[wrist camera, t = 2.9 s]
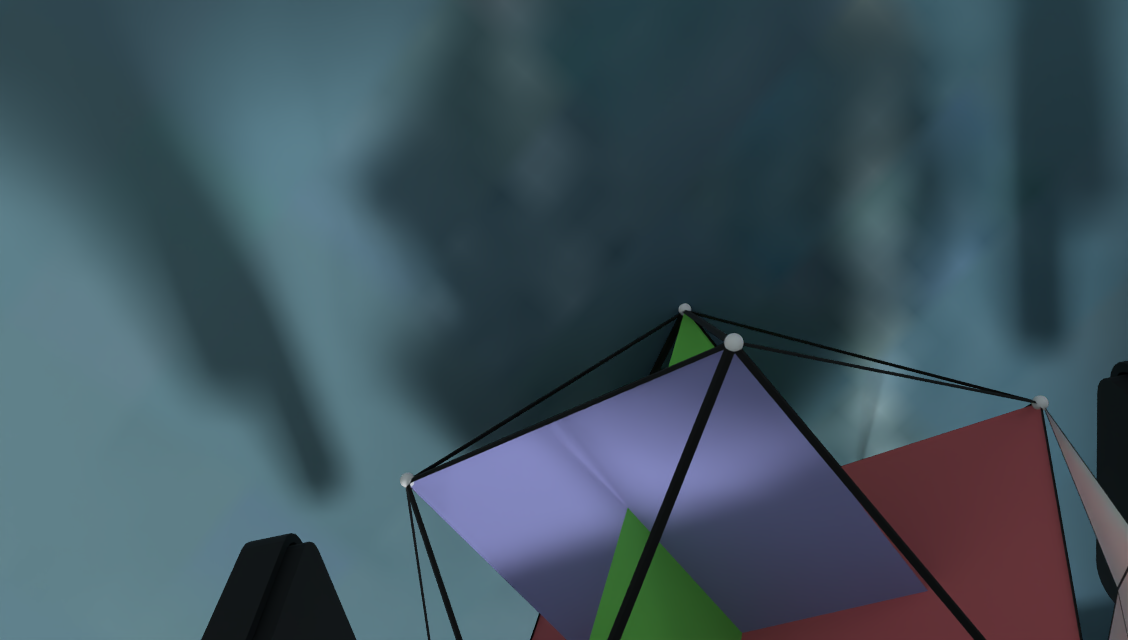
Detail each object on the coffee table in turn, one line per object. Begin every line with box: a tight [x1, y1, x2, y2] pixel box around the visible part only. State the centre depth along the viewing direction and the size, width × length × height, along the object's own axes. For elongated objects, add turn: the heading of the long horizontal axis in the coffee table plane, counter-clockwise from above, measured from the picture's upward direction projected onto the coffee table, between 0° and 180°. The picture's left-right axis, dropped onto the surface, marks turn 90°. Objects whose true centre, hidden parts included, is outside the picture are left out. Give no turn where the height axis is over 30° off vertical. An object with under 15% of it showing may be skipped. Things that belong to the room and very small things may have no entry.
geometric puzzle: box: [400, 303, 1128, 640], centre depth 10 cm, size 7×7×8 cm
